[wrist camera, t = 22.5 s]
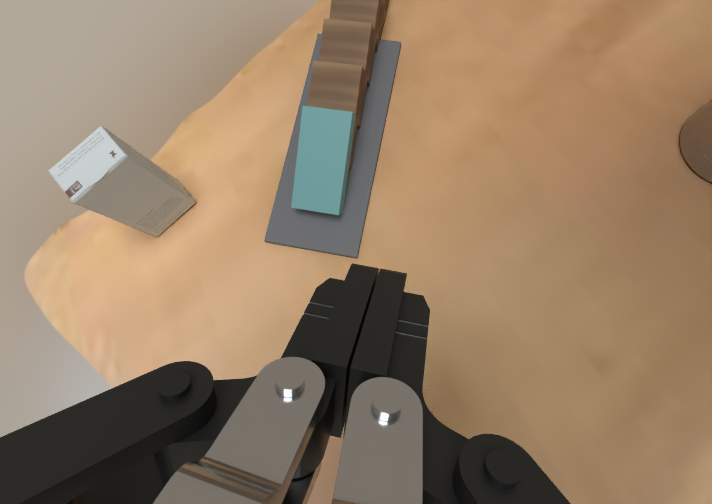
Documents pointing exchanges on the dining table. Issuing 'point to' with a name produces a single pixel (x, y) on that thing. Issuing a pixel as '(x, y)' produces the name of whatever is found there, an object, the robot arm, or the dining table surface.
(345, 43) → the domino
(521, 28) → the dining table surface
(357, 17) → the domino
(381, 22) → the domino
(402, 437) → the robot arm
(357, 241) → the domino mat
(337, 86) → the domino
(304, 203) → the domino
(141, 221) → the skincare box
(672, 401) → the dining table surface
